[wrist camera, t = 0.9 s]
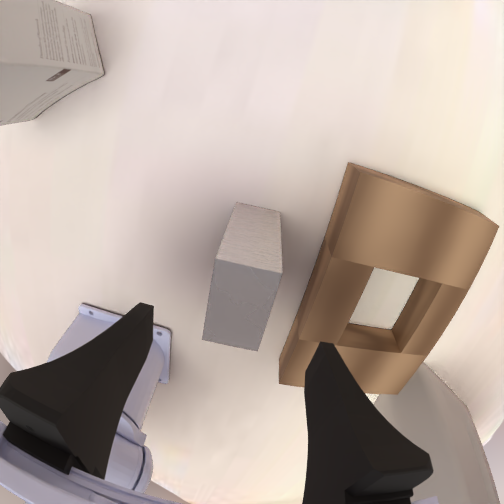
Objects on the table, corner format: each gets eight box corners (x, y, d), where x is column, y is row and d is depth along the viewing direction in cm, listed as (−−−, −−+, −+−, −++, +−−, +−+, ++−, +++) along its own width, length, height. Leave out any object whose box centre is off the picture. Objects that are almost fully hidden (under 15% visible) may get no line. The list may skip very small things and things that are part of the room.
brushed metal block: (223, 265, 23) (201, 339, 16) (236, 202, 20) (215, 258, 13) (263, 273, 23) (257, 351, 16) (279, 211, 21) (282, 273, 13)
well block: (279, 358, 27) (278, 383, 24) (348, 162, 19) (360, 172, 16) (390, 372, 27) (397, 394, 25) (478, 211, 19) (499, 226, 16)
